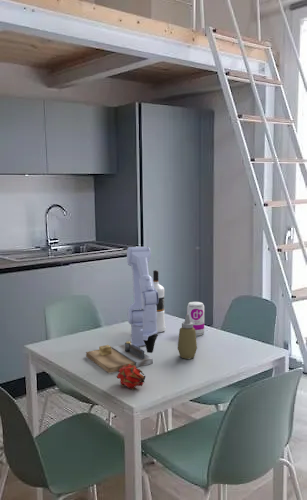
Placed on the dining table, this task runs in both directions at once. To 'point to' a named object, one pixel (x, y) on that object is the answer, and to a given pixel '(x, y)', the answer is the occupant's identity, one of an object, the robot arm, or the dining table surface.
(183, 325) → the squeeze bottle
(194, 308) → the supplement can
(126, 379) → the dragon fruit
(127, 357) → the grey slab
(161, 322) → the vodka
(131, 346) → the lock bar
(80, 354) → the dining table surface
